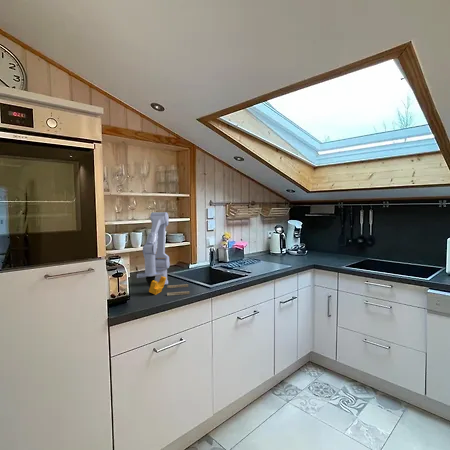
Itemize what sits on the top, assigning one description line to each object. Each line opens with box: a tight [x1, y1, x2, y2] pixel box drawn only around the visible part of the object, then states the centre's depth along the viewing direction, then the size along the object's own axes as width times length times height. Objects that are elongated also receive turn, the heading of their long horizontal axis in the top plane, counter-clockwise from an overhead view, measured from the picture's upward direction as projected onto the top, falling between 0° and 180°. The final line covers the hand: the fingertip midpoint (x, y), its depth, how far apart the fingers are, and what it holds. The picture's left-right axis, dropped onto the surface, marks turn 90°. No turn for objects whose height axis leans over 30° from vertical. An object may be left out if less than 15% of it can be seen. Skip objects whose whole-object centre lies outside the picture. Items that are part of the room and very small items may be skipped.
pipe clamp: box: [148, 276, 166, 296], centre depth 169 cm, size 12×4×6 cm, turn 163°
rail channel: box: [166, 283, 190, 296], centre depth 171 cm, size 16×12×1 cm
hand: (150, 289), depth 168 cm, fingers closed
